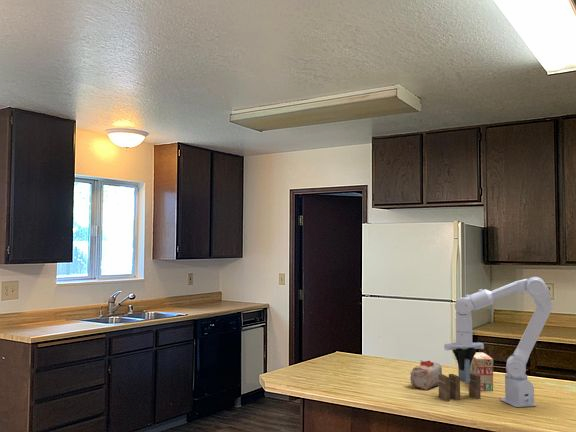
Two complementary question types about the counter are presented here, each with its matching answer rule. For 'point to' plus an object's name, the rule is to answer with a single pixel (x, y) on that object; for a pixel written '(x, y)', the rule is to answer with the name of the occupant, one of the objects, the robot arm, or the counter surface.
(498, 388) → the counter surface
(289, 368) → the counter surface
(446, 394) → the domino
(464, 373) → the placed domino
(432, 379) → the food item
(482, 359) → the stack of blocks
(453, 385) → the domino
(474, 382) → the domino
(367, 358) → the counter surface
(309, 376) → the counter surface
